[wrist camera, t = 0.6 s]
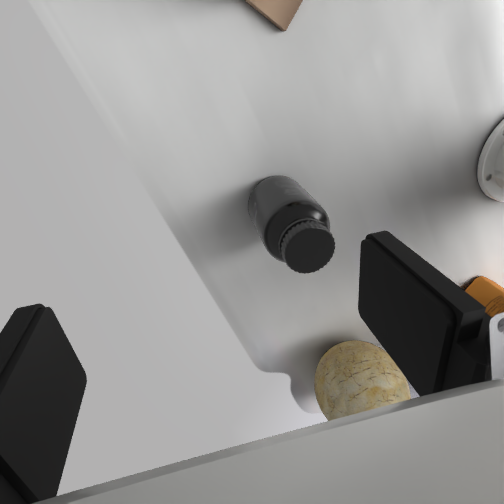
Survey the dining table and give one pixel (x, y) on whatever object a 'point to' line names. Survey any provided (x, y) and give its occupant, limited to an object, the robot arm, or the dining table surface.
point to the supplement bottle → (291, 224)
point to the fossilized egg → (357, 380)
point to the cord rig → (277, 10)
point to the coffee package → (487, 295)
